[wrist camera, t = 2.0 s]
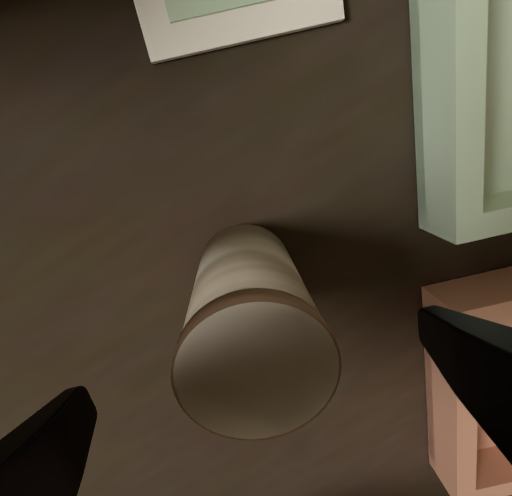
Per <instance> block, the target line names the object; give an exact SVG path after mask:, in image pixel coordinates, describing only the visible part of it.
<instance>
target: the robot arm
mask: <svg viewBox="0 0 512 496" xmlns="http://www.w3.org/2000/svg"><path fill="white" fill-rule="evenodd" d="M418 330H419V338H420V341H421V343H422V345H423V346H424V348H425V349H426V351H427V352H428V354H429V355H430V357H431V359H432V360H433V362H434V363H435V365H436V366H437V368H438V369H439V371H440V372H441V374H442V375H443V377H444V379H445V380H446V382H447V383H448V385H449V386H450V388H451V389H452V391H453V392H454V393H455V395H456V396H457V397H458V399H459V400H460V401H461V403H462V404H463V405H464V406H465V408H466V409H467V410H468V411H469V413H470V414H471V415H472V416H473V418H474V419H475V420H476V421H477V423H478V424H479V425H480V426H481V428H482V429H483V430H484V431H485V433H486V434H487V435H488V436H489V438H490V439H491V440H492V441H493V443H494V444H495V445H496V446H497V448H498V449H499V450H500V451H501V453H502V454H503V455H504V456H505V458H506V459H507V460H508V461H509V463H510V464H511V465H512V327H509V326H506V325H503V324H499V323H496V322H492V321H489V320H485V319H482V318H478V317H475V316H471V315H468V314H464V313H461V312H458V311H454V310H451V309H447V308H444V307H440V306H437V305H431V306H427V307H422V308H420V309H419V310H418ZM96 420H97V410H96V407H95V405H94V403H93V401H92V399H91V397H90V395H89V393H88V391H87V389H86V388H85V387H84V386H77V387H73V388H69V389H66V390H65V391H63V392H62V393H61V394H59V395H58V396H57V397H55V398H54V399H53V400H51V401H50V402H49V403H48V404H46V405H45V406H44V407H42V408H41V409H40V410H38V411H37V412H36V413H35V414H33V415H32V416H31V417H29V418H28V419H27V420H25V421H24V422H23V423H22V424H20V425H19V426H18V427H16V428H15V429H14V430H12V431H11V432H10V433H9V434H7V435H6V436H5V437H3V438H2V439H1V440H0V496H77V493H78V490H79V487H80V484H81V480H82V477H83V473H84V469H85V465H86V461H87V457H88V453H89V449H90V444H91V440H92V436H93V432H94V428H95V424H96Z"/></svg>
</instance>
